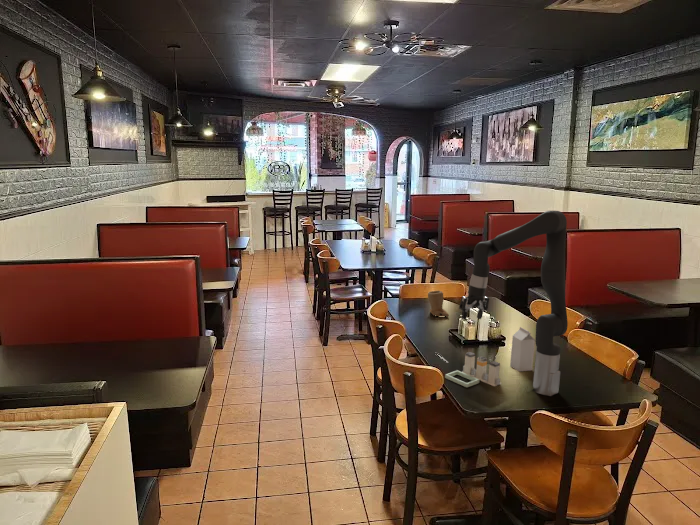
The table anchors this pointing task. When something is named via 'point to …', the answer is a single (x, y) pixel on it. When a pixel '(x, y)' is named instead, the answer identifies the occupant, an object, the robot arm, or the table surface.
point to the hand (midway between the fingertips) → (471, 318)
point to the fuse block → (490, 379)
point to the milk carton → (522, 350)
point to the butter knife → (442, 358)
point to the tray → (473, 379)
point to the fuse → (481, 367)
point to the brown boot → (437, 303)
